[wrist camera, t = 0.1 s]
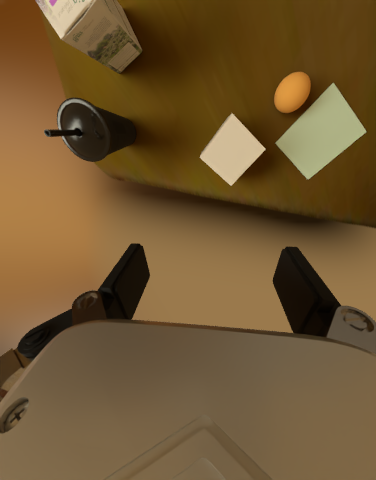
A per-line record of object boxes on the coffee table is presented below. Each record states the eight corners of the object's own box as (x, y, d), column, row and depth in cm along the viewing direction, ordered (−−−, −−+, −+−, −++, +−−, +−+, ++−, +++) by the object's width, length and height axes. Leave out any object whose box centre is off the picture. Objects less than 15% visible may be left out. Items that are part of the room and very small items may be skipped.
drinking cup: (114, 99, 32) (10, 65, 15) (148, 125, 34) (88, 121, 17) (102, 137, 36) (10, 143, 19) (134, 159, 38) (73, 182, 21)
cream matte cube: (228, 116, 31) (232, 113, 25) (255, 145, 33) (265, 149, 27) (201, 152, 35) (199, 157, 29) (227, 176, 37) (231, 185, 31)
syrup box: (121, 5, 25) (42, -106, 13) (144, 53, 28) (95, -4, 16) (97, 34, 28) (8, -40, 16) (120, 76, 30) (60, 41, 18)
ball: (290, 68, 27) (304, 57, 23) (308, 92, 28) (324, 86, 24) (264, 99, 30) (273, 94, 25) (282, 120, 31) (293, 119, 27)
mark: (332, 82, 27) (333, 82, 27) (365, 131, 30) (366, 131, 30) (275, 143, 33) (275, 143, 33) (307, 179, 36) (308, 179, 36)
